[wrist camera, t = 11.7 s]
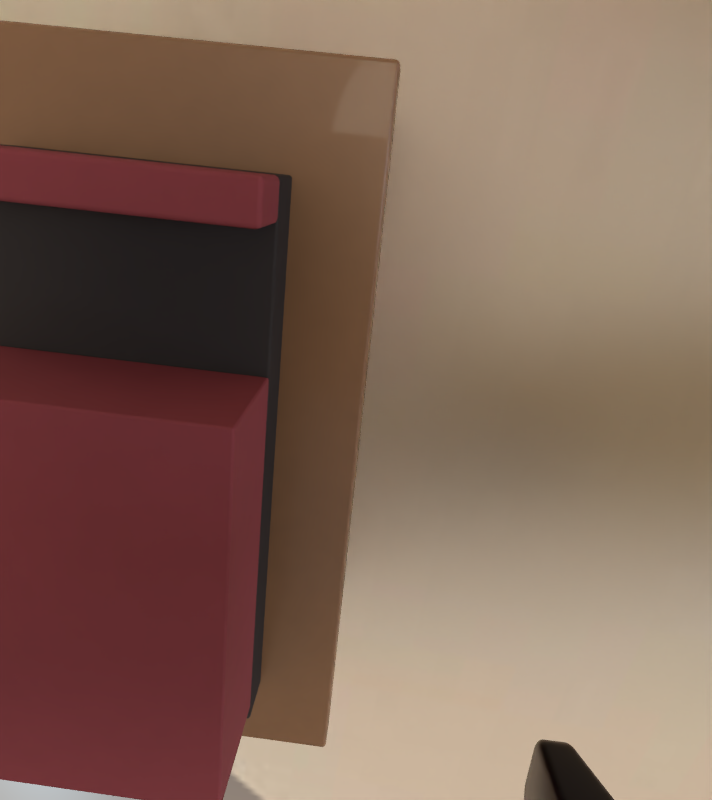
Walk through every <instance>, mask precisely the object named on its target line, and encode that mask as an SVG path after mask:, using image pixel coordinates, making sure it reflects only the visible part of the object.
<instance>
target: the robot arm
mask: <svg viewBox="0 0 712 800" xmlns="http://www.w3.org/2000/svg"><path fill="white" fill-rule="evenodd" d="M524 800H614V799H613V798H612V796H611V795H610V794H609V793H608V791H607V790H606V789H605V787H604V786H603V785H602V784H601V782H600V781H599V780H598V779H597V777H596V776H595V775H594V773H593V772H592V771H591V770H590V768H589V767H588V766H587V765H586V763H585V762H584V761H583V759H582V758H581V757H580V756H579V754H578V753H577V752H576V751H575V749H574V748H573V747H572V746H571V745H569V744H568V743H564V742H557V741H550V740H539V741H538V742H537V744H536V745H535V748H534V752H533V756H532V760H531V764H530V768H529V772H528V776H527V780H526V784H525V793H524Z"/></svg>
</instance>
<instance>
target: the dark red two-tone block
mask: <svg viewBox="0 0 712 800" xmlns="http://www.w3.org/2000/svg"><path fill="white" fill-rule="evenodd" d="M291 189H292V177H291V176H290V175H285V174H276V173H266V172H257V171H248V170H238V169H229V168H220V167H211V166H201V165H192V164H183V163H173V162H164V161H155V160H146V159H136V158H127V157H118V156H108V155H99V154H90V153H81V152H71V151H62V150H53V149H43V148H34V147H25V146H16V145H3V144H0V779H2V780H9V781H16V782H23V783H30V784H37V785H44V786H51V787H58V788H64V789H71V790H78V791H85V792H93V793H99V794H106V795H113V796H120V797H127V798H134V799H141V800H223V797H224V793H225V790H226V786H227V783H228V779H229V777H230V773H231V770H232V766H233V763H234V760H235V756H236V753H237V749H238V746H239V743H240V739H241V736H242V732H243V729H244V726H245V722H246V719H247V718H249V717H250V716H251V712H252V709H253V705H254V702H255V698H256V695H257V691H258V688H259V684H260V679H261V663H262V647H263V632H264V616H265V600H266V584H267V568H268V553H269V537H270V521H271V505H272V489H273V473H274V458H275V442H276V426H277V410H278V394H279V379H280V363H281V347H282V331H283V315H284V299H285V284H286V268H287V252H288V236H289V220H290V204H291Z"/></svg>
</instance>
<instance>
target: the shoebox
mask: <svg viewBox="0 0 712 800" xmlns="http://www.w3.org/2000/svg"><path fill="white" fill-rule="evenodd" d="M399 77H400V64H399V61H398V60H395V59H385V58H375V57H365V56H355V55H344V54H334V53H324V52H314V51H304V50H294V49H284V48H274V47H263V46H253V45H243V44H233V43H223V42H213V41H203V40H193V39H183V38H172V37H162V36H152V35H142V34H132V33H122V32H112V31H102V30H91V29H81V28H71V27H61V26H51V25H41V24H31V23H21V22H10V21H0V144H3V145H16V146H25V147H34V148H43V149H53V150H62V151H71V152H81V153H90V154H99V155H108V156H118V157H127V158H136V159H146V160H155V161H164V162H173V163H183V164H192V165H201V166H211V167H220V168H229V169H238V170H248V171H257V172H266V173H276V174H285V175H290V176H291V177H292V189H291V204H290V220H289V236H288V252H287V268H286V284H285V299H284V315H283V331H282V347H281V363H280V379H279V394H278V410H277V426H276V442H275V458H274V473H273V489H272V505H271V521H270V537H269V553H268V568H267V584H266V600H265V616H264V632H263V647H262V663H261V679H260V684H259V688H258V691H257V695H256V698H255V702H254V705H253V709H252V712H251V716H250V717H249V718H247V719H246V722H245V726H244V729H243V732H242V736H248V737H256V738H263V739H270V740H277V741H284V742H292V743H299V744H306V745H313V746H320V747H323V746H325V744H326V737H327V730H328V723H329V714H330V705H331V696H332V687H333V678H334V669H335V659H336V650H337V641H338V632H339V623H340V614H341V605H342V596H343V587H344V578H345V568H346V559H347V550H348V541H349V532H350V523H351V514H352V505H353V496H354V487H355V477H356V468H357V459H358V450H359V441H360V432H361V423H362V414H363V405H364V395H365V386H366V377H367V368H368V359H369V350H370V341H371V332H372V323H373V314H374V304H375V295H376V286H377V277H378V268H379V259H380V250H381V241H382V232H383V223H384V213H385V204H386V195H387V186H388V177H389V168H390V159H391V150H392V141H393V131H394V122H395V113H396V104H397V95H398V86H399Z"/></svg>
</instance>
